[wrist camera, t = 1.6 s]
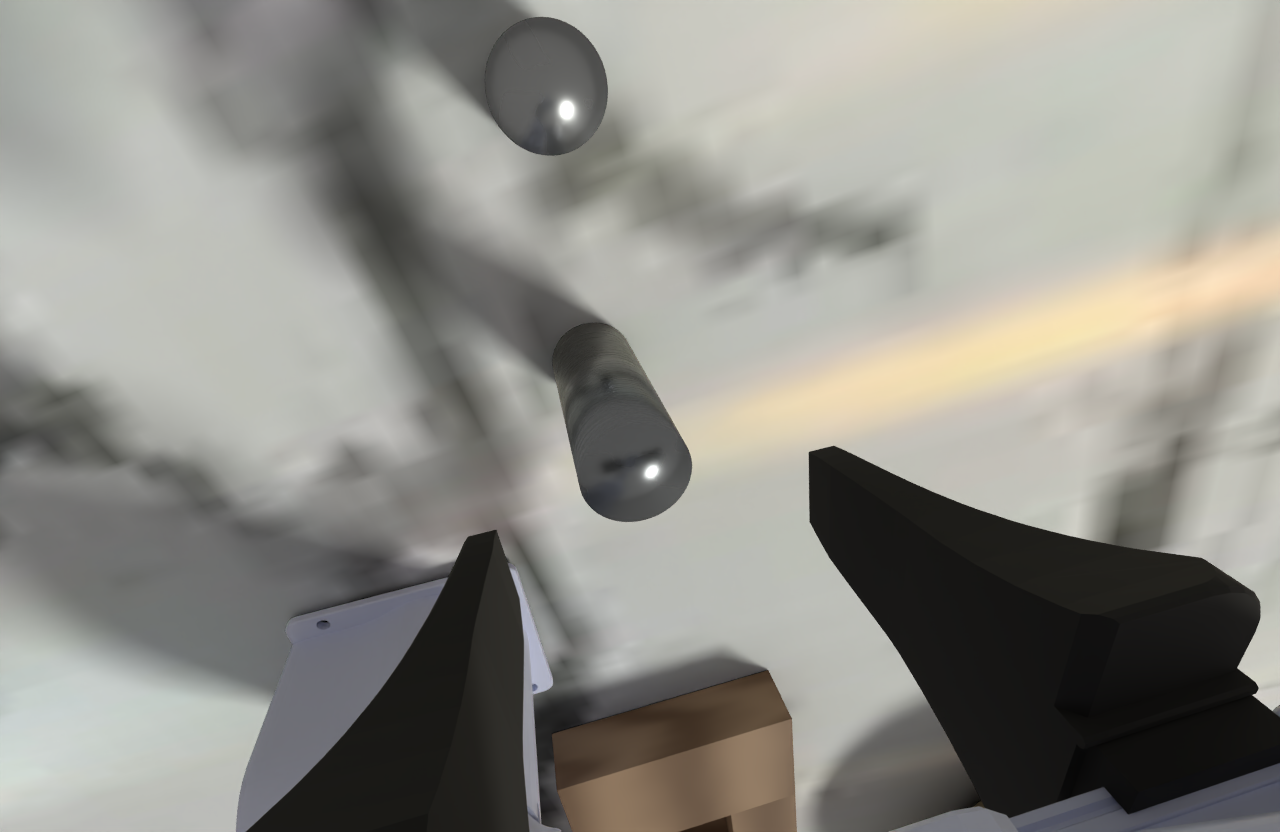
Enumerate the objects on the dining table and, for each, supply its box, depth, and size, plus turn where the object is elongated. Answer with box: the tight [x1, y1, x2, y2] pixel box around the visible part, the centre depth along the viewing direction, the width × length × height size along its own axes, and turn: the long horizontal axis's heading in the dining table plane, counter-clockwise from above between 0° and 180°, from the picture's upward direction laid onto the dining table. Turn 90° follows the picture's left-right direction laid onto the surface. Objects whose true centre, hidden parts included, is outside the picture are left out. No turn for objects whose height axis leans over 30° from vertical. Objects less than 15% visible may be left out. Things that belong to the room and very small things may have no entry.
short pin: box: [485, 17, 608, 156], centre depth 17 cm, size 3×3×4 cm
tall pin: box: [552, 323, 692, 522], centre depth 19 cm, size 3×3×8 cm
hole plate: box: [552, 670, 797, 832], centre depth 35 cm, size 12×18×3 cm, turn 9°
